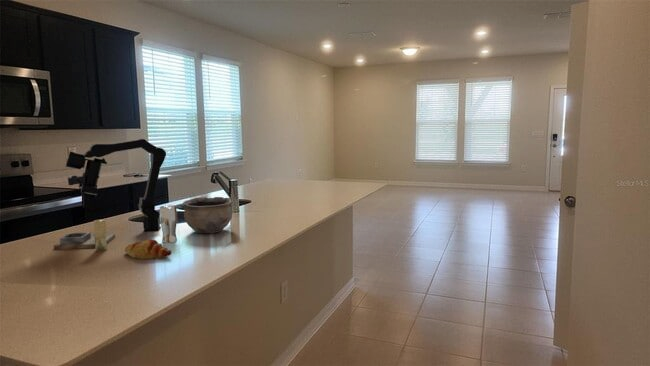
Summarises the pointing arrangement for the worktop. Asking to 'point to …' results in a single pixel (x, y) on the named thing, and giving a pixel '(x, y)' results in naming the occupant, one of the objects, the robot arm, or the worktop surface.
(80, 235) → the plate
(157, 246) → the croissant
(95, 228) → the pale yellow drinking glass
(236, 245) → the worktop surface
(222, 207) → the ceramic bowl
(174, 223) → the beer glass
